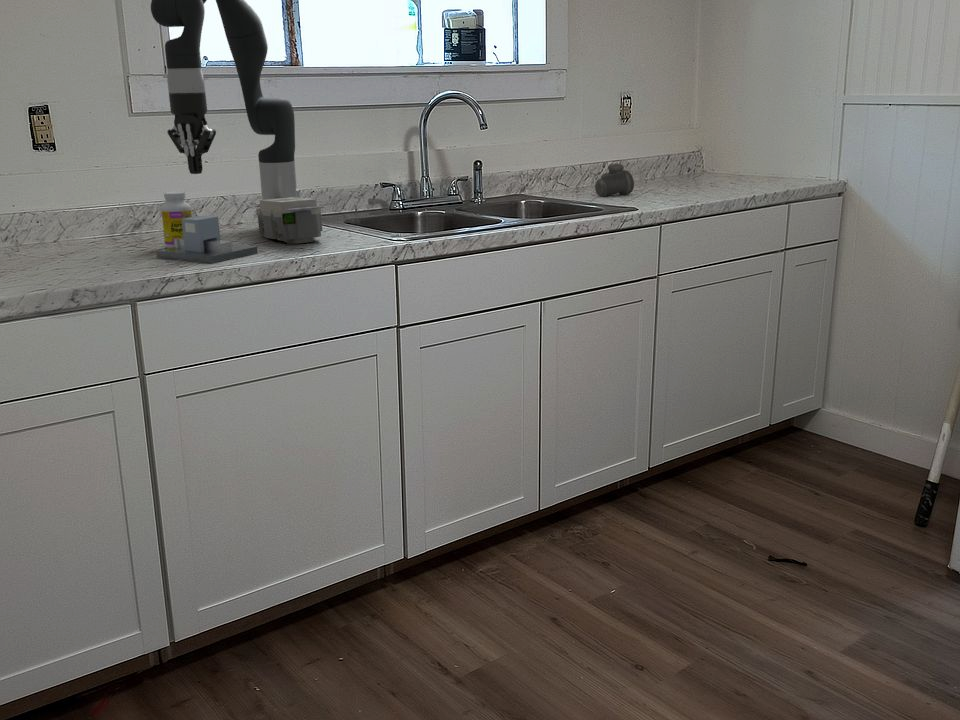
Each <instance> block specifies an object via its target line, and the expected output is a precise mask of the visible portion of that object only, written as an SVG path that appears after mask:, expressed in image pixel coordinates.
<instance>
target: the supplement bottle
mask: <svg viewBox="0 0 960 720" xmlns="http://www.w3.org/2000/svg"><path fill="white" fill-rule="evenodd" d="M163 196H164V197H163V198H164V200H165V203H164V204H163V203H162V205H161V208H160V209H161V217H162V218H161V219H162V227H163V237H164V239H163V240H164V245H165V246H164V247H166V249H167V248H172V247H175V240H174V239H178V238H183V228H182V219H184V218H190V217H193V216H192V207H191V204H189V203H188V202H186V200H185V199H186V192H185V191H179V190H178V191H167V192H163Z"/></svg>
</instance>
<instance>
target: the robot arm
mask: <svg viewBox="0 0 960 720" xmlns="http://www.w3.org/2000/svg"><path fill="white" fill-rule="evenodd" d="M207 1H208V0H151V2H150V12H151V16H152V18H153V19H154V21H155V22H156V23H157V24H159V25H160V26H161V27H167V28H175V27H176V28H179V27H180V28H181V27H183V30H182V32H181V35H180V36H178V37H176V38H172V39H168V40H166V42H165V44H164V51H165V53H164V54H165V60H166V70H167V77H166V78H167V81H166V82H167V89H168V99H169V100H168V101H169V109H170V113H171V114H172V115H173V116H174V120H173V127H172V128H171V129H168V130H167V135H168V136H169V138H170V139H171V141H172V142H173V145H175V147H176V149H177V151H178V152H179V153H180V154H184V155H185V157H186V158H187V167H188V171H189V174H191V175H199V174H200V175H201V174H202V173H203V159H202V156H203V155H204V154H206V153H208V152H209V151H210V147H211V146H212V143H213V142H214V139H215V136H216V134H217V130H216V129H211V128H210V127H209V126H208V121H207V118H206V116H205V115H206V114H207V112H208V104H207V95H206V86H205V78H204V73H203V69H202V58H201V49H200V48H201V42H202V41H201V40H202V31H203V26H204V21H205V13H206V12H205V5H204V4H205V3H206V2H207ZM215 3H216V5H217V9H218V12H219V16H220V18H221V19H220V20H221V22H222V26H223V29H224V30H223V31H224V33H225V38H226V40H227V43H228V47H229V50H230V53H231V55H232V59H233V62H234V65H235V68H236V72H237V75H238V80H239V83H240V87H241V91H242V97H243V102H244V106H245V111H246V117H247V120H248V122H249V126H250V128H251V129H252V131H253V132H254V133H255V134H257V135H259V136H261V135H262V136H274V140H273V142H272V144H271V145H270V146H268V147H265V148H263V149H260V150H259V152H258V167H259V178H260V179H259V180H260V189H261V200H266V199H278V198H291V197H294V198H301V196H300V195H301V193H300V190H299V189H297V176H296V165H295V153H296V152H295V151H296V133H295V132H296V131H295V127H296V126H295V125H296V124H295V120H296V119H295V111H294V108H293V105H292V103H291V101H289V100H288V99H287V98H283V97H270V98H269V97H265V96H264V95H263V91H262V88H261V87H262V86H261V75H262V71H263V69H264V64H265V61H266V58H267V55H268V50H269V48H268V41H267V37H266V34H265V29H264V27H263V23H262V20H261V17H260V16H259V15H258V13H257V12H256V11H255V10H254V8H252V6H251V5H250V4H249V3H248V2H247V1H246V0H215Z"/></svg>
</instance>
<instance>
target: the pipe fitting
mask: <svg viewBox="0 0 960 720" xmlns="http://www.w3.org/2000/svg"><path fill="white" fill-rule="evenodd" d="M607 170H608V172H606V173H602V174H601V176H600V178H599V179H597V180H596V181H595V183H594V190H595V193H596V195H597V196H599V197H600V198H603V197H604V198H605V197H609V196H612V195H616V194H619V195H622V196H625V195H630V194H631V193H633V190H634V187H635V186H634V185H635V181H634V177H633V175H632V173H631V172H630V171H629V170H625V168H624V165H623V164H621V163H613V164H609V165H608V166H607Z"/></svg>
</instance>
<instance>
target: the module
mask: <svg viewBox="0 0 960 720" xmlns="http://www.w3.org/2000/svg"><path fill="white" fill-rule="evenodd" d="M182 228H183V237H184V246H185V250H186V251H195V252H204V243H203V240H217V241H221V233H220V223H219V216H216V215H215V216H213V215H197V216H192V217H190V218H184V219H182Z"/></svg>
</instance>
